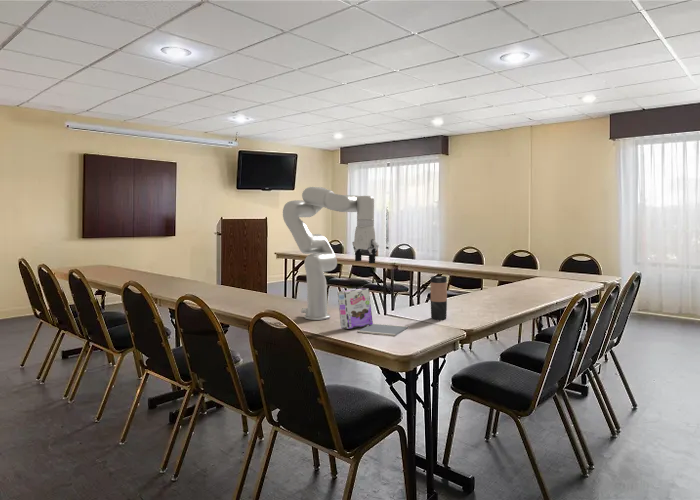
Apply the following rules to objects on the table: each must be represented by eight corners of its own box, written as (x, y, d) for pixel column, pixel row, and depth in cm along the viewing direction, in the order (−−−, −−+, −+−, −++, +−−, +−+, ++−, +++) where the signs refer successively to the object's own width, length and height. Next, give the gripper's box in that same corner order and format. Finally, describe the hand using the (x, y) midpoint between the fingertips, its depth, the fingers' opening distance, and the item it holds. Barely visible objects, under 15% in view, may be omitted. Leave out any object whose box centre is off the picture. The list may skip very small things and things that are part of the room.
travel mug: (449, 319, 235) (449, 277, 234) (435, 320, 233) (435, 278, 231) (442, 316, 242) (442, 275, 241) (427, 317, 240) (427, 276, 238)
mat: (357, 332, 212) (357, 330, 212) (372, 324, 226) (372, 323, 226) (395, 336, 205) (395, 334, 205) (408, 327, 219) (408, 326, 219)
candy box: (348, 329, 215) (344, 291, 215) (340, 328, 219) (336, 291, 220) (373, 324, 223) (369, 287, 224) (365, 324, 227) (361, 288, 228)
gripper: (346, 223, 226) (346, 260, 227) (371, 224, 212) (370, 264, 213) (360, 222, 230) (359, 259, 232) (384, 224, 216) (384, 263, 218)
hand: (365, 262), depth 223 cm, fingers open, 9 cm apart
